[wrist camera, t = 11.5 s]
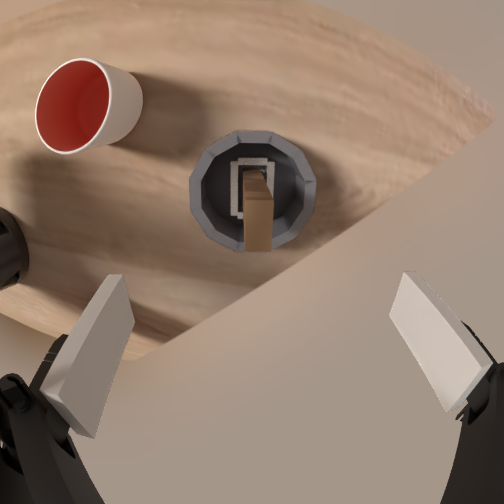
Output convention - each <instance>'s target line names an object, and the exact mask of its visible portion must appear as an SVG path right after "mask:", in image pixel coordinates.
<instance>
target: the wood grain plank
mask: <svg viewBox="0 0 504 504" xmlns="http://www.w3.org/2000/svg"><path fill="white" fill-rule="evenodd" d="M273 209H274V199H273V197H272V195H271V193H270V190H269V188H268V186H267V184H266V181H265V179H264V177H263V175H262V172H261V170H260V169H249V168H243V222H244V243H245V251H271V247H272V229H273Z"/></svg>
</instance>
